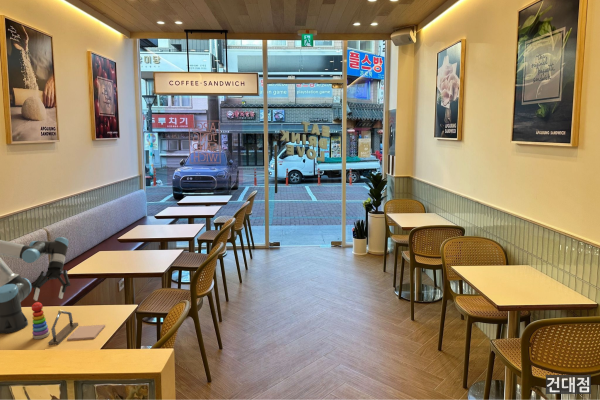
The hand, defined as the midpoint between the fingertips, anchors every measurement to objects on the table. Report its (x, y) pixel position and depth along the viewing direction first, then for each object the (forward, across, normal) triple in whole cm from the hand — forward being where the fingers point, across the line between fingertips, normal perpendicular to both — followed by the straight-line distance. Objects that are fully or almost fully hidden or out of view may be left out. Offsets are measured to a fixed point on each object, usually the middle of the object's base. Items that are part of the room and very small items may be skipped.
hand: (47, 299), depth 252 cm
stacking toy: (+19, +1, -5) cm, 20 cm away
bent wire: (+19, -11, -5) cm, 22 cm away
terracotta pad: (+19, -23, -5) cm, 30 cm away
